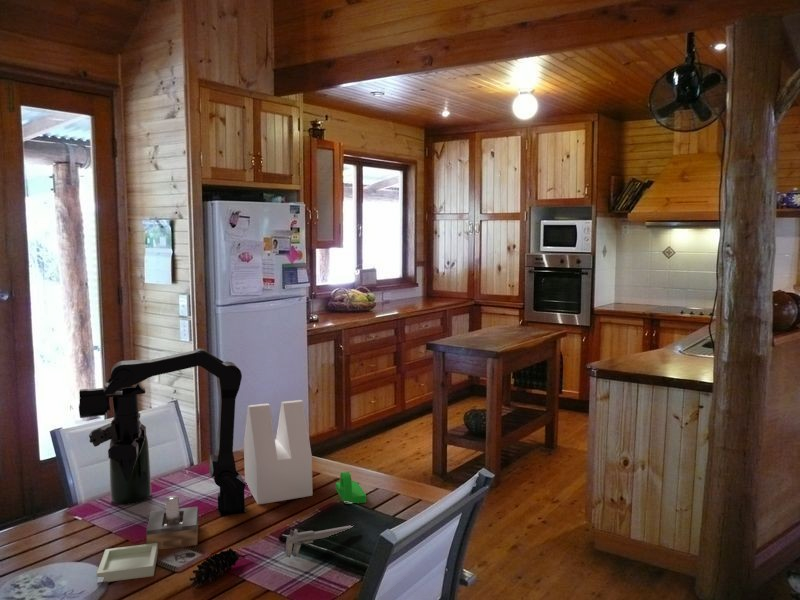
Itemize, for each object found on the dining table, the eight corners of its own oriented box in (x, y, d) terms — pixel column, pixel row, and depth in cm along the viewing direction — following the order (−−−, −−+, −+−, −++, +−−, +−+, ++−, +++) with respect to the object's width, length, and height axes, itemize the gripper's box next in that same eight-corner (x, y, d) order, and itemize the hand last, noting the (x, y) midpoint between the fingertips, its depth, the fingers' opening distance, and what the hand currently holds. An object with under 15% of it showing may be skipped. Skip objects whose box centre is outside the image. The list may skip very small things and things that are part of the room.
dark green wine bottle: (152, 489, 187) (147, 376, 184) (150, 503, 177) (145, 384, 174) (112, 493, 183) (107, 379, 180) (108, 508, 173) (102, 387, 170)
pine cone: (199, 568, 130) (180, 568, 132) (204, 593, 130) (184, 592, 132) (253, 534, 146) (235, 534, 148) (257, 556, 146) (239, 556, 148)
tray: (158, 553, 148) (157, 542, 148) (153, 577, 138) (153, 565, 137) (106, 559, 145) (105, 549, 145) (97, 584, 135) (96, 573, 134)
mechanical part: (366, 502, 177) (365, 473, 176) (344, 505, 175) (344, 476, 174) (355, 486, 188) (355, 459, 188) (335, 489, 187) (335, 462, 186)
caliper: (288, 560, 144) (288, 533, 143) (285, 558, 145) (285, 531, 144) (358, 530, 158) (358, 505, 157) (355, 528, 159) (355, 504, 158)
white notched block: (244, 480, 193) (242, 398, 191) (295, 473, 199) (293, 393, 197) (257, 504, 176) (255, 414, 173) (312, 495, 182) (310, 408, 179)
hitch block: (198, 525, 162) (197, 506, 162) (197, 545, 152) (196, 524, 151) (151, 531, 159) (151, 511, 159) (147, 551, 149) (146, 530, 148)
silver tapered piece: (188, 533, 158) (186, 494, 157) (187, 539, 155) (186, 498, 154) (160, 537, 156) (158, 497, 155) (159, 542, 153) (157, 502, 152)
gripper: (98, 406, 166) (102, 464, 168) (82, 426, 148) (87, 491, 150) (144, 402, 169) (148, 460, 171) (134, 421, 151) (138, 486, 153)
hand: (130, 473), depth 161 cm, fingers open, 9 cm apart
